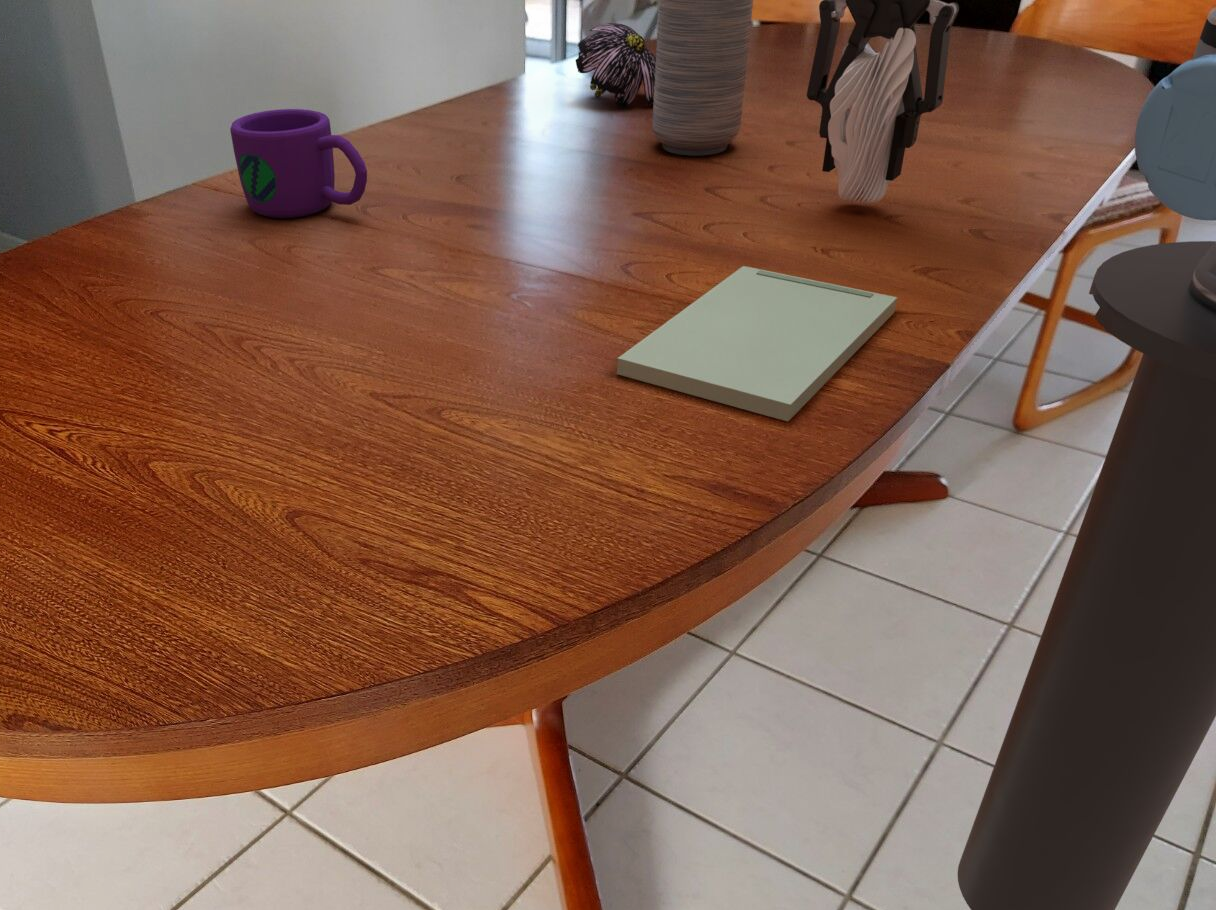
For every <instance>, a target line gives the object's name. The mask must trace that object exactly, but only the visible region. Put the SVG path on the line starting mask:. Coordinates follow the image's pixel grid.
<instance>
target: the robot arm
mask: <svg viewBox="0 0 1216 910" xmlns="http://www.w3.org/2000/svg"><path fill="white" fill-rule="evenodd" d="M846 9H848V11H849V13H850V15H851V17H852V19H853V21H854V23H855V24H854V26H853V29H852V31H851V34H850V36H849V37H848V41H847V44H848V45H847V44H846V45H847V47H846V49H845V52H844V54H842V55H841V58H840V60H839V63H838V64H837V67H836V69H835V72H834V74H833V75H832V78H831V80H830V82H829V77H830V72H831V68H832V63H833V59H834V54H835V50H836V45H837V40H838V35H839V30H840V25H841V19H842V18H844V17H845V13H846ZM959 10H960V6H959V4H958V2H955V1H954V2H949V3H947V2H945V1H942V0H821V1H820V2H819V5H818V11H819V19H820V27H819V31H818V37H817V42H816V46H815V52H814V57H813V63H812V65H811V66H812V67H811V70H810V71H811V73H810V76H809V80H808V86H807V90H806V98H807V99H808V100H809V101H814V102H816V103H817V104H819V105H820V106H821V116H820V125H819V131H818V133H819V138H821V139H826V140H825V147H824V148H825V149H824V154H823V155H824V156H823V162H822V169H821V172H825V173H830V172H831V171H833V170H834V169H837V168H836V167H835V165H834V158H833V156H832V145H831V144H830V141H829V135H828V124H829V121H830V119H831V112H830V102H831V100H832V99H833V98H834V96H835V85H836V83H837V81H838V80H839V79H840V78H841V77H842V75H843V73H844V71H845V70H846V68H847V67H848V66H849V65H850V64H851V63H852V62H853V60H854V59H856V57H857V56H859V54H861V52H862V53H863V50H864V48H865V46H866V44H867V43H868V44H869V42H870V40H871V38H872V39H873V38H876V37H881V38H884V39H887V40H891V38H893V39H894V37H895V35H896V33H897V30H898V29H899V28H903V29H905V28H908V29H911V30H912V31H913V32H914V33H915V35H916V36H917V30H916V24H917V23H918V22H919V20H921V18H922V17H923V16H924V15H925V13H926V12H928V13H929V19H928V21H929V24H930V25H931V26H932V29H931V32H930V36H929V37H930V38H929V46H928V47H929V48H928V57H927V66H926V77H925V86H924V95H923V90H922V81H921V74H920V68H919V67H920V66H919V59H918V52H917V45H916V44H915V47H914V49H913V51H914V62H913V67H912V70H911V72H910V74H909V78H908V83H907V86H906V89H905V91H904V93H903V96H902V97H903V104H904V111H905V112H903V113H902V114H900V115H898V116H897V117H896V121H895V127H894V133H893V139H892V145H891V150H890V156H889V162H888V168H887V173H886V179H885V180H890V182H891V181H894V180H895V179H897V178H898V177H899V176H901V174H902V168H903V163H904V157H905V152H906V149H910V148H911V147H913V146H914V145H915V143H916V141H917V138H918V134H919V133H918V132H919V127H920V123H921V117H922V115H923V114H926V113H932V112H934V111H935V110H937V109H938V108H939V107H940V106H942V104H943V100H944V91H945V82H946V73H947V65H948V64H947V63H948V54H949V46H950V38H951V29H952V26H953V24H954V22H955V20H956V18H957V16H958V13H959ZM903 35H904V32H903ZM902 37H903V36H902ZM901 39H902V38H901ZM828 82H829V85H828ZM923 96H924V97H923ZM1134 154H1135V159H1136V163H1137V167H1138V171H1139V173H1140V174H1141V175H1143V176H1144V178H1145V180H1146V181H1145V182H1146V183H1147V188H1148V190H1149V191H1150V192H1151V194H1152V195H1153V196H1154V197H1155V198H1156V199H1157V200H1158V202H1160V203H1161V204H1162V205H1164V206H1165V207H1166V208H1168V209H1169V210H1171V211H1173V212H1174V213H1177V214H1178V215H1181V216H1183V217H1186V218H1190V219H1194V220H1198V221H1199V220H1200V221H1211V222H1213V221H1216V6H1215V7H1213V8H1211V10H1209V13H1208V15H1207V17H1206V19H1205V22H1204V25H1203V28H1202V31H1201V33H1200V36H1199V39H1198V41H1197V44H1196V47H1195V50H1194V53H1193V56H1192V58H1191V59H1189V60H1186V61H1185V62H1183V63H1181V64H1179V66H1177V67H1176V68H1175V69H1174V70H1173V71H1172V72H1171V73H1169V74H1168V75H1167V76H1165V77H1163V78H1162V79H1161V80H1159V82H1158V83H1156V85H1154V88H1152V89H1151V91H1150V92H1149V94H1148V96H1147V97H1146V99H1145V100H1144V103H1143V105H1142V107H1141V110H1140V112H1139V115H1138V118H1137V122H1136V126H1135V132H1134ZM1189 291H1190V293H1191V295H1192V296H1193V297H1194V298H1195V299H1196V300H1197V301H1198V302H1199V303H1200V304H1202V305H1203V306H1205V307H1206V308H1208V309H1210V310H1212V311H1214V312H1216V242H1215V243H1214V244H1213V245H1212V247H1211V248H1210V249H1209V250H1208V252H1207V253H1206V254H1205V255H1204V257H1203V258H1202V259H1201V261H1200V262H1199V264H1198V266H1197V268H1196V269H1195V271H1194V274H1193V276H1192V279H1191V282H1190V285H1189Z"/></svg>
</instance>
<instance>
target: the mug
mask: <svg viewBox="0 0 1216 910" xmlns="http://www.w3.org/2000/svg"><path fill="white" fill-rule="evenodd" d="M230 137H231V142H232V148H233V154H234V158H235V162H236V169H237V171H238V176H239V181H240V184H241V188H242V192H243V194H244V198H245V200H246V202H247V204H248V206H249V207H250V208H251V210H252V211H253V212H255V213H256V214H259V215H261V216H264V217H268V218H275V219H292V218H301V217H306V216H310V215H314V214H317V213H320V212H321V211H323V210H325V209H327V208H328V207H329V206H330V205H331V203H334V204H337V205H343V206H350V205H353V204H355V203H357V202H359V201H360V200H361V198H362V197H363V195H364V193H365V192H366V186H367V183H368V169H367V167H366V164H365V161H364V160H363V157H362V156H361V154H360V152H359V151H358V150H357V149H356V147H355V146H354V145H353V144H352V143H351V142H350V140H348V139H347V138H345V137H343V136H342V135H339V134H332V129H331V121H330V118H329V116H328V115H326V113H324V112H320V111H317V110H311V109H302V108H284V109H281V108H280V109H272V110H264V111H257V112H254V113H251V114H247V115H243V116H242V117H239V118H237V119H235V120H234V121H232V122H231V125H230ZM334 149H338V150H340V151H341V152H342V153H343V154H344V156H346V158H347V160H348V162H349V163H350V164H351V166H352V168H353V170H354V174H355V176H354V181H353V185H352V188H351V190H350V192H349V191H348V192H344V191H343V192H341V191H338V190H335V176H336V175H335V174H336V173H335V160H334V159H335V157H334Z"/></svg>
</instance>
